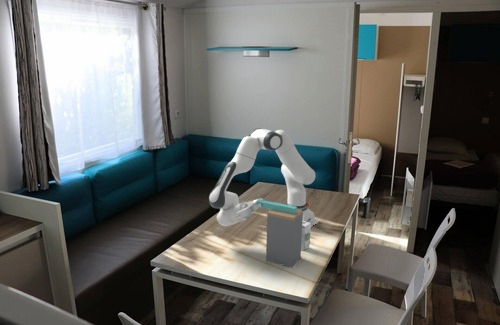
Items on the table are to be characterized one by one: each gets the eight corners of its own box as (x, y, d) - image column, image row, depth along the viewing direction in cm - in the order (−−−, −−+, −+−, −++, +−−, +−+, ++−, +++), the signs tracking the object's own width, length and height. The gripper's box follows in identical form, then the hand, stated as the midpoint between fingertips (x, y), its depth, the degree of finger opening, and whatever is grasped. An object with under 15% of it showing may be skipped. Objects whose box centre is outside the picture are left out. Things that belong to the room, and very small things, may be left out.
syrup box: (300, 244, 236) (301, 220, 232) (309, 247, 232) (311, 222, 228) (294, 248, 231) (296, 223, 228) (304, 251, 228) (305, 226, 224)
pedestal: (266, 260, 217) (267, 212, 210) (276, 251, 227) (277, 205, 221) (291, 267, 210) (293, 218, 204) (300, 257, 221) (302, 210, 214)
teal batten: (256, 206, 218) (256, 201, 217) (259, 204, 221) (259, 199, 220) (294, 214, 208) (294, 208, 208) (296, 212, 211) (297, 206, 210)
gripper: (230, 212, 216) (251, 203, 209) (249, 200, 233) (269, 192, 226) (235, 223, 216) (256, 215, 208) (254, 211, 233) (274, 203, 226)
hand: (263, 203), depth 217 cm, fingers closed on teal batten, 3 cm apart
